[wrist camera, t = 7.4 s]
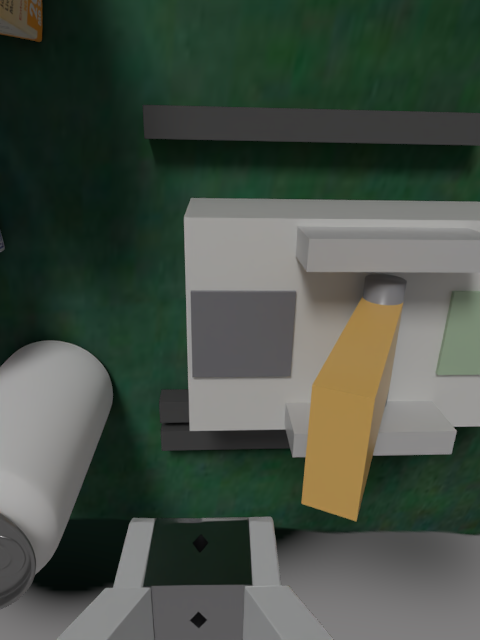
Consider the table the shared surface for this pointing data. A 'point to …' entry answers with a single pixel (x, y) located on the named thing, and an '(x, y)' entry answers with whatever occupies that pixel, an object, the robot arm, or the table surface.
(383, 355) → the lever
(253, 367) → the white slotted housing
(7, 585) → the can
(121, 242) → the table surface
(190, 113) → the dark grey long bar
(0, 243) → the medicine box
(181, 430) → the dark grey flat bar
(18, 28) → the supplement box
